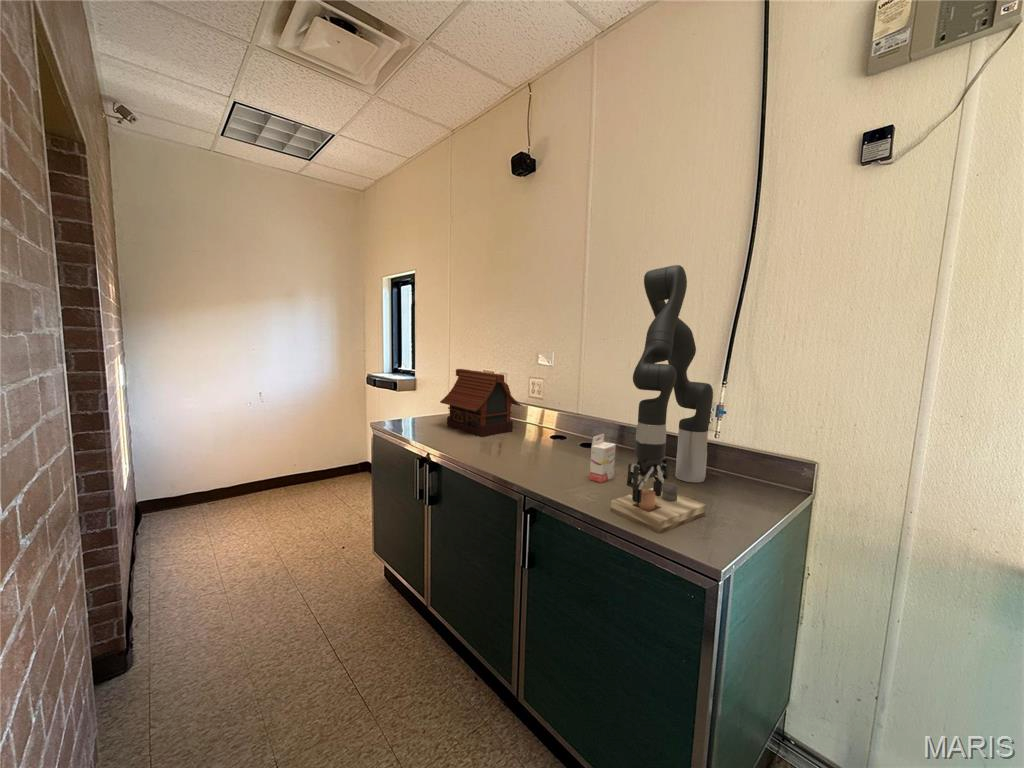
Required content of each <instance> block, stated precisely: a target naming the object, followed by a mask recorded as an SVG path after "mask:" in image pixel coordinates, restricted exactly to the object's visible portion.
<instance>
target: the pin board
mask: <svg viewBox="0 0 1024 768" xmlns="http://www.w3.org/2000/svg"><path fill="white" fill-rule="evenodd" d="M648 489H649V490H653V487H651V488H648ZM678 489H679V485H678V484H676V483H674V482H664V483H662V494H661V496H659V497H658V496H656V495H655V509H654V511H651V512H647V511H644V510H642V509H640V508H639V503H636V502H634V501H633V499H632V495H633V494H632V493H630V494H627V495H624V496H622V497H618V498H615V499H611V501H610V512H612V513H614V514H616V515H618V516H621V517H623V518H626V519H627V520H629V521H632V522H634V523H636V524H639V525H640V526H643V527H645V528H646V529H648V530H649V529H650V530H652V531H654V532H656V533H657V534H662V533H664V532H667V531H669V530H672V529H674V528H676V527H680V526H682V525H684V524H686V523H689V522H691V521H694V520H697V519H699V518H701V517H704V516H706V508H707V504H705V503H702V502H700V501H697V500H694V499H692V498H688V497H686V496H683V495H681V494H679V493H678Z"/></svg>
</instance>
